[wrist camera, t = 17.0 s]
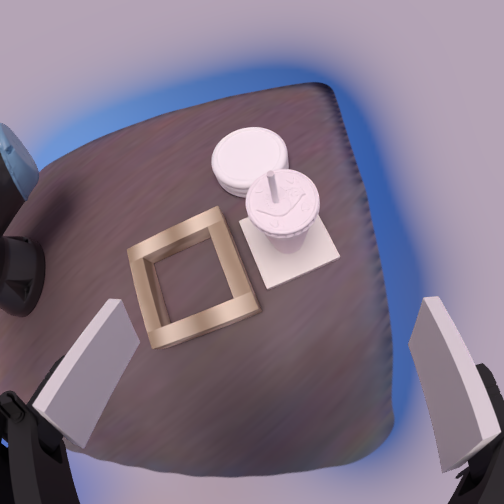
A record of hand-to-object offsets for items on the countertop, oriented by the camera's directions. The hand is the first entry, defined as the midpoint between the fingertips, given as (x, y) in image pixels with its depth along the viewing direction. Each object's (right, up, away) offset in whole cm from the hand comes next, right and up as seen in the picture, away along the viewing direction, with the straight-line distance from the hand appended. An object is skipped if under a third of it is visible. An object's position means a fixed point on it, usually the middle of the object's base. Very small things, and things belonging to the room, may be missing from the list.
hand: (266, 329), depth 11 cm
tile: (+4, +4, +22) cm, 23 cm away
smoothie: (+4, +5, +21) cm, 22 cm away
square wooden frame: (-8, -1, +23) cm, 24 cm away
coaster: (-1, +15, +27) cm, 30 cm away
